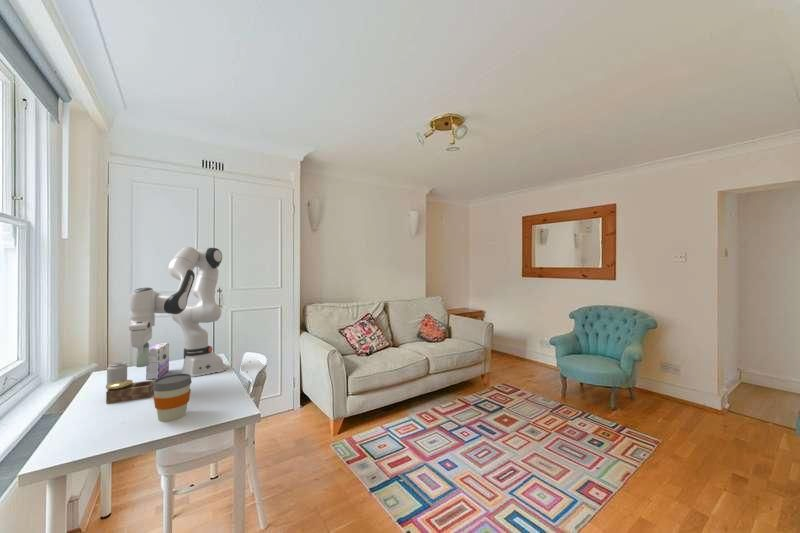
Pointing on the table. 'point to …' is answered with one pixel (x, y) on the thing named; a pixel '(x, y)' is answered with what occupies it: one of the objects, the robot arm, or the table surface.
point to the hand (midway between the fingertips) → (142, 352)
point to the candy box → (158, 361)
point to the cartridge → (143, 357)
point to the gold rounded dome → (119, 384)
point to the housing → (130, 392)
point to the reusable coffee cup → (171, 396)
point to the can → (116, 372)
